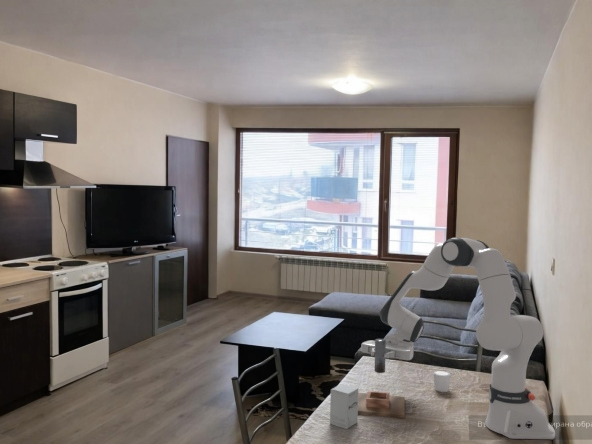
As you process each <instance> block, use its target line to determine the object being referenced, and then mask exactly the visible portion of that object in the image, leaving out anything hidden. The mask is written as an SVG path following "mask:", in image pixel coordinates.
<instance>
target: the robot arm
mask: <svg viewBox="0 0 592 444" xmlns="http://www.w3.org/2000/svg"><path fill="white" fill-rule="evenodd" d="M502 254H503V253H502V252H501V251H500V250H498V249H497V248H492V247H489V245H488V244H487V243H485V242H483V241H481V240H480V239H479V240H477V239H472V238H469V237H451V238H449V239H447V240H445V241H444V242H443V243H437V244H436V245H434V247H433V248H432V249H431V251H429V254H427V256H426V258H425V260H424V262H423V263H422V265H421V267H420V268H419V269H418V270H412V271H411V272H410V273H409V274H407V275H406V276H405V278H404V279H403V280H402V282H401V283H400V284H399V286H398V287H397V288H396V290H395V291H394V292H393V293H392V295H391V296H390V298H389V299H388V300H387V301H386V302H385V303H384V304H383V306H382V307H381V308H380V310H379V317H380V320H381V322H382V323H383V324H385V325H386V326H390V327H391V328H393V329H394V330H396V331H394V332H392V333H391V334H389V335H388V336H386V337H384V338H383V339H384V340H386V353H384V358H385V359H397V360H398V359H399V360H403V361H411V360H412V359H413V358H414V351H415V350H414V349H415V347H414V343H415V342H417V341H418V340H419V338H420V337H421V336H422V334H423V331H424V328H425V325H424V320H423V318H422V317H421V316H419V315H417V314H416V313H415V312H412V311H410V310H409V309H408V308H406V307H404V306H402V304H401V302H402V300H403V299H404V298H405V296H406V295H407V294H408V292H409V291H410V290H411V289H418V290H424V291H437V290H440V289H442V288H443V287H444V286H445V284H446V283H447V281H448V280H449V278H450V276H451V275H452V272H453V270H454V269H455V267H461V268H464V269H470V268H473V270H474V271H475V274H476V276H477V277H476V278H477V281H478V284H479V285H478V286H479V287H480V292H481V296H482V301H483V314H482V317H481V319H480V320H481V321H479V324H477V326H476V329H475V330H476V331H475V336H476V340H477V342H478V344H479V345H480V347H481V348H483V349H485V350H489V351H500V352H499V355H498V356H497V357H495V358H494V360H493V362H492V363H491V377H490V378H491V381H490V382H491V383H490V384H489V389H488V391H489V392H488V399H489V406H488V411H487V414H486V415H487V416H486V419H485V421H484V425H485V427H486V428H488V429H489V430H490V431H493V432H495V433H496V434H497V433H498V434H500V435H503V436H505V437H506V438H509V439H511V440H512V439H517V440H518V439H522V440H525V439H526V440H528V439H531V440H554V439H555V438H556V437H557V436H556V431H555V429H554V427H553V426H552V425H551V424H550V423H549V419H548V417H547V414H546V413H545V411H544V410H543V409H542V408H541V407H540V406H539V405H538V404H536V402H534V401H535V400H536V396H535V395H534V393H532V392H531V390H529V389H528V388H527V387H526V379H527V368H528V364H529V360H530V357H531V355H532V353H533V351H534V349H535V348H536V346H537V345H538V344H539V343H540V342H541V341H542V339H543V338H544V327H543V325H542V323H541V321H540V320H539V319H538V318H537V317H535V316H530V315H526V314H525V315H524V314H519V315H511V314H512V313H511V307H512V304H513V302H514V301H515V300H516V297H517V293H516V289H515V287H514V282H513V278H512V276H511V273H510V270H509V266H508V264H507V262H506V260H505V258H504V256H503V255H502ZM360 352H361V353H364V354H369V355H370V356H371V357H375V340H366V341H363V342H362V343H361V347H360Z"/></svg>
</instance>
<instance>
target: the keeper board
mask: <svg viewBox="0 0 592 444" xmlns="http://www.w3.org/2000/svg"><path fill="white" fill-rule="evenodd" d="M405 405H406V397H405V396H399V395H391V394H390V392H388V391H375V390H367V392H366V393H364V392H358V415H362V414H364V416H372V415H375V417H384V418H385V417H386V418H396V419H405V417H406V415H405V414H406V410H405V409H406V406H405Z"/></svg>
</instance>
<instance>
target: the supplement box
mask: <svg viewBox="0 0 592 444" xmlns="http://www.w3.org/2000/svg"><path fill="white" fill-rule="evenodd" d="M358 393H359V387H356V386H352V385H347V384H344V383H341V384H339V385H336V386H334V387H332V388H331V389H330V402H329V403H330V408H329V409H330V410H329V413H330V414H329V424H330V425H333V426H336V427H338V428H341V429H345V430H348V429H349V428H351V427H353V426H354V425H355V424H358V421H359V420H358V417H359V414H358Z"/></svg>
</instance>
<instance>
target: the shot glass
mask: <svg viewBox="0 0 592 444" xmlns="http://www.w3.org/2000/svg"><path fill="white" fill-rule="evenodd" d="M450 381H451V373H450V372H449V371H446V370H435V371H433V384H434V386H433V388H434V390H435V391H436V392H440V393H441V392H442V393H446V392H449V390H450V389H449V388H450Z"/></svg>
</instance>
